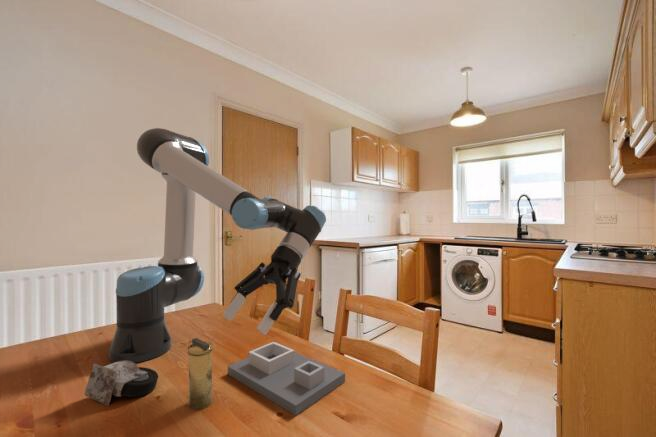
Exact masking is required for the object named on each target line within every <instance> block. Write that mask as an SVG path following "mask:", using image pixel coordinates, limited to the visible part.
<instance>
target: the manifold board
mask: <svg viewBox="0 0 656 437" xmlns="http://www.w3.org/2000/svg"><path fill="white" fill-rule="evenodd" d="M227 375H229V376H230V377H232V378H233V379H235V380H236V381H238V382H240V383H242V384H243V385H245V386H246V387H248V388H250V389H251V390H253V391H254V392H256V393H258V394H260V395H261V396H263V397H264V398H266V399H267V400H269V401H271V402H273V403H275V404H276V405H278V406H279V407H281V408H282V409H285V410H286V411H287V412H289V413H291V414H293V415H294V416H298V415H299V414H301V413H302V412H303V411H305V410H306V409H308V408H309V407H311V405H314V404H315V403H316V402H318V401H319V400H320V399H322V398H323V397H325V396H326V395H328V394H329V393H331V392H332V391H333V390H335V389H336V388H338V387H340V386H341V385H342V384H344V383H345V382H346V372H344V371H341V370H339V369H337V368H334V367H332V366H329V365H327V364H324V363H322V362H320V361H317V360H315V359H313V358H310V357H309V356H306V355H303V354H301V353H298V352H295V349H292V348H290V347H288V346H285V345H282V344H280V343H278V342H275V341H272V342H269V343H267V344H265V345H261V346H259V347H257V348H255V349H252V350H250V351H248V357H246V358H244V359H241V360H239V361H236V362H233V363H232V364H230V365H227Z"/></svg>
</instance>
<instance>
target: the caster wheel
mask: <svg viewBox="0 0 656 437" xmlns="http://www.w3.org/2000/svg"><path fill="white" fill-rule="evenodd" d="M158 379H159V374H158V372H157V371H156V370H154V369H152V368H149V367H144V366H143V367H142V366H138V365H137V364H136V363H134V362H132V361H125V360H124V361H118V362H112V363H110V364H107V365H104V366H102V365H100V364H97V363H93V364H92V368H91V371H90V374H89V376H88V381H87V385H86V387H85V390H84V396H85V397H88V398H90V399H92V400H93V401H96V402H98V403H100V404H102V405H104V406H108V407H109V405H110V402H111V400H112V396H114V397H120V398H122V397H128V398H129V397H132V398H135V397H141V396H145V395H149V394H151V393H152V392H153V391H154V390H155V389H156V386H157V383H158Z"/></svg>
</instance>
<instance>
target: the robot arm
mask: <svg viewBox="0 0 656 437" xmlns="http://www.w3.org/2000/svg"><path fill="white" fill-rule="evenodd" d="M136 150H137V151H136V152H137V154H138V156H139V158H140V159H141V160H142V161H143V163H145V165H147V166H148V167H150V168H152V169H153V170H155V171H156V172H158V173H161V177H162V178H163V179H164V180H165V182H166V190H165V191H166V195H165V197H166V198H165V219H164V242H163V244H164V245H163V256H162V257H161V258H160V259H159V260H158V262H157V265H149V266H144V267H136V268H133V269H129V270H126V271H124V272H123V273H121V274H120V275H118V277H117V280H116V288H115V296H116V299H115V302H116V329H115V332H114V335H113V338H112V341H111V344H110V346H109V349H108V358H109V361H110V362H112V363H115V362H118V361H124V360H125V361H132V362H134V363H135V364H136V363H141V362H145V361H149V360H153V359H155V358H158V357H159V356H161V355H164V354H165V353H167V352H168V351H169V350H170V349H171V347H172V338H171V335H170V332H169V328H168V327H167V324H166V321H165V308H166V307H169V306H171V305H172V306H173V305H175V304H178V303H180V302H184V301H187V300H189V299H191V298H193V297H195V296H196V295H197V294H199V292H201V290H202V288H203V286H204V282H205V273H204V271H203V270H202V268H201V266H200V265H198V259H197V258H196V257H195V256H194V241H195V240H194V238H195V237H194V235H195V234H194V233H195V217H196V216H195V213H196V212H195V211H196V194H198V195H199V196H201V197H202V198H204V199H205V200H207V201H209V202H210V203H211V204H214V205H215V206H216V207H218V208H219V209H221V210H222V211H224V212H225V213H227V214H228V215H230V216H231V217H232V220H233V221H234V223H235V225H236V226H237V227H239V228H240V229H244V230H250V231H251V230H253V231H254V230H259V229H269V228H270V229H271V228H276V229H279V230H281V231H284V232H286V234H285V235H284V237H283V238H282V239H281V240H280V242H279V245H278V246H276V249H274V251H273V252H272V254H271V256H270V263H269V264H268V265H267V264H265V263H264V262H260V264H259V265H258V266H257V267H256V268H255V269H254V270H252V272H250V273H249V274H248V275H246V276H245V277H244V278H243V279H241V281H240V282H238V283H237V285H235V286H234V290H235V291H236V294H235V296H234V297H233V298H232V299H231V301H230V303H229V305H228V306H227V307H226V309H225V310H224V312H223V313H222V314H221V315H222V317H224V318H225V319H226V320H227V321H228V322H232V320H233V319H234V317H235V316H236V314H237V313H238V312H239V310H240V309H241V307H242V306H243V304H244V303H245V302H246V300H247V296H248V295H251V293H254V292H255V291H257V290H258V289H260V288H261V287H262V286H264V285H268V284H271V285H273V284H274V285H275V286H276V288H275V289H276V290H275V291H276V292H275V293H276V294H275V295H276V299H275V300H274V301H273V302H272V303H271V305H269V308H268V309H267V311H266V312H265V314H264V316H263V317H262V319H261V320H260V322H259V323H258V325H257V326H256V330H258V331H259V332H260V333H261V334H262V335H264V336H266V335H267V334H268V332H269V331H270V329H271V327H272V326H273V324H275V322H276V321H278V319H279V317H280V316H281V314H282V312H283V311H284V310H285V309H286V308H289V309H292V308H294V305H295V299H296V293H297V289H298V288H297V286H298V282H299V279H300V278H301V275H302V274H301V272H299V270H298V268H299V267H300V265H301V263H302V260H304V258H305V256H306V255H307V254H308V253H309V252H308V251H310V248H311V246H312V245H313V244H314V242H315V241H316V239H317V237H318V236H319V234H320V233H321V232H322V229H323V227H324V226H325V223H326V222H327V217H326V214H325V212H324V211H323V210H322V209H321V208H319V207H318V206H316V205H310V204H309V205H307V206H305V207H304V208H303V209H300V208H296V207H294V206H293V205H290V204H286V203H285V202H283V201H280V200H279V199H277V198H273V197H270V196H265V197H263V198H259V197H257V196H256V195H254V194H252V193H251V192H249V191H248V190H246V189H245V188H243V187H242V186H240V185H239V184H237V183H235V182H234V181H232V179H231V180H230V179H229V178H227V177H226V176H224V175H223V174H221V173H219V172H218V171H216V170H215V169H213V168H211V167H210V166H209V164H210V155H209V151H208V150H207V148H206V146H205V145H204V144H203V143H202V142H201V141H199V140H196V139H195V138H193V137H190V136H187V135H183V134H180V133H177V132H174V131H171V130H169V129H166V128H159V127H156V128H154V127H153V128H151V129H150V128H149V129H147V130H146V131H144V132H143V133H141V135H140V136H139V138H138V139H137V143H136Z"/></svg>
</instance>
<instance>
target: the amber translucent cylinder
mask: <svg viewBox="0 0 656 437" xmlns="http://www.w3.org/2000/svg"><path fill="white" fill-rule="evenodd" d="M191 343H192V344H190V345H189V346H188V347H187V355H188V408H189V409H191V410H192V411H193V410H194V411H200V410H204V409H206V408H207V407H209V406H211V404H212V403H213V382H212V381H213V360H212V359H213V358H212V357H213V354H212V352H213V349H214V345H213V343H212V342H210V341H208V340H207V341H203V340H201V339H199V338H197V337H195V338H192V339H191Z"/></svg>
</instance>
